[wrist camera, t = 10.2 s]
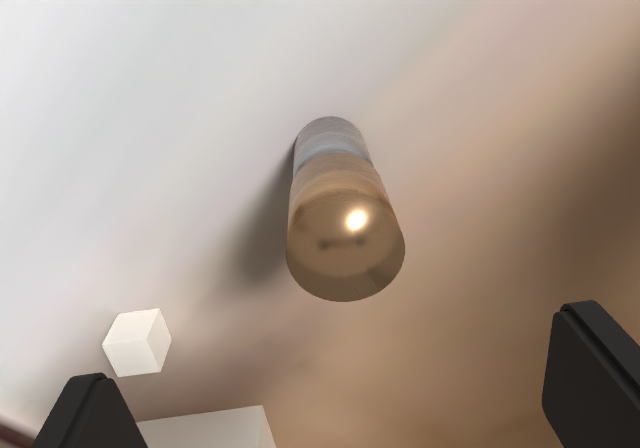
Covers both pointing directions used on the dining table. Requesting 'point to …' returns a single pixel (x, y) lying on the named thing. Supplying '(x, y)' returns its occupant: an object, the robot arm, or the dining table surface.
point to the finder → (210, 430)
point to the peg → (340, 216)
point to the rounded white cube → (137, 342)
